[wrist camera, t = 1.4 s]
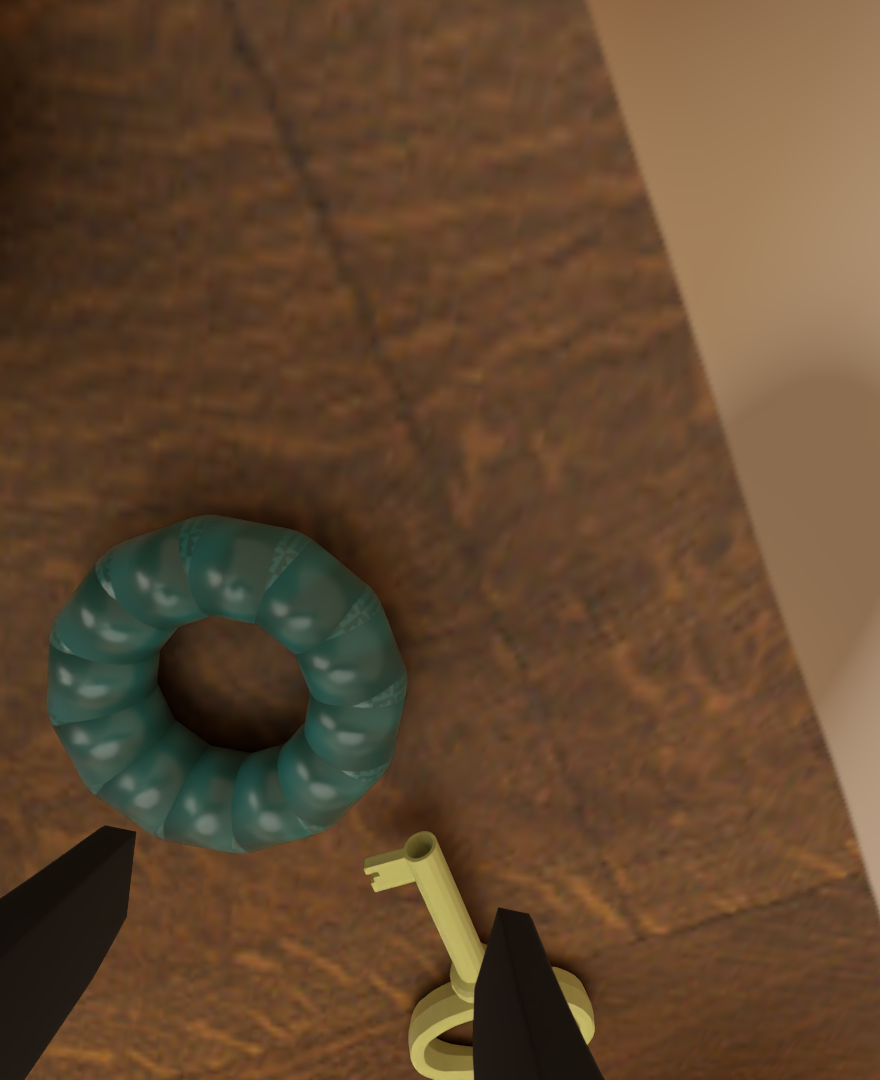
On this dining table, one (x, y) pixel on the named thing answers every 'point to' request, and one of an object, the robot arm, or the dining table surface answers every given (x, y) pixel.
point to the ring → (176, 752)
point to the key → (466, 952)
